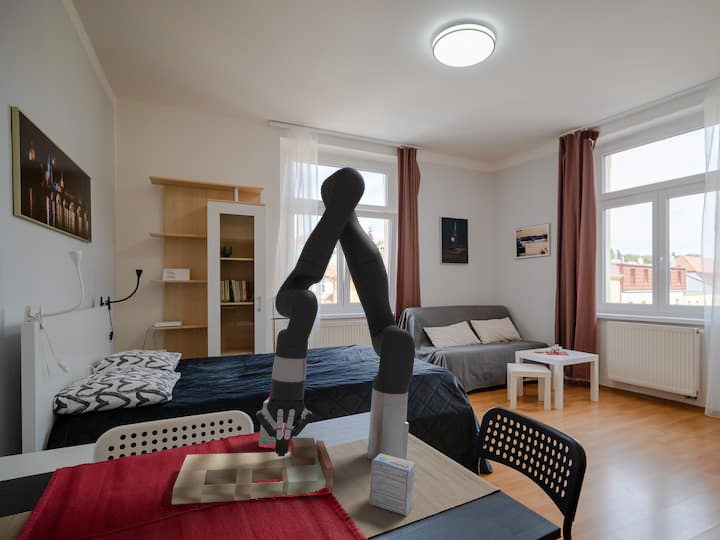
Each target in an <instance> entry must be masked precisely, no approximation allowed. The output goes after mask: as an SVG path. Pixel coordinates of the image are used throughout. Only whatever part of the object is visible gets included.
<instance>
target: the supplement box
mask: <svg viewBox="0 0 720 540" xmlns="http://www.w3.org/2000/svg"><path fill="white" fill-rule="evenodd" d="M269 399H270V396H268V397H267V398H266V399H265V400H264V401H263V403H262V404H263V405H262V410H263V409H264V408H265V407H267V406H266V405H267V402H268V401H269ZM267 414H268V418H267V420H268V421H269V423H270V424H271V425H272V427H273V428H274V429H276V422H275V421H274V420H273V418H272V417H271V415H270V413H269V412H268V413H267ZM284 428H285V423H283V429H282V437H283V436H284ZM259 444H265V445H266V444H267V445H273V444H276V438H275V437H270V436H269V435H268V433H267V432H266V430H265V429H264V428H263V426H262V425H261V424H260V429H259V438H258V445H259Z"/></svg>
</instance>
